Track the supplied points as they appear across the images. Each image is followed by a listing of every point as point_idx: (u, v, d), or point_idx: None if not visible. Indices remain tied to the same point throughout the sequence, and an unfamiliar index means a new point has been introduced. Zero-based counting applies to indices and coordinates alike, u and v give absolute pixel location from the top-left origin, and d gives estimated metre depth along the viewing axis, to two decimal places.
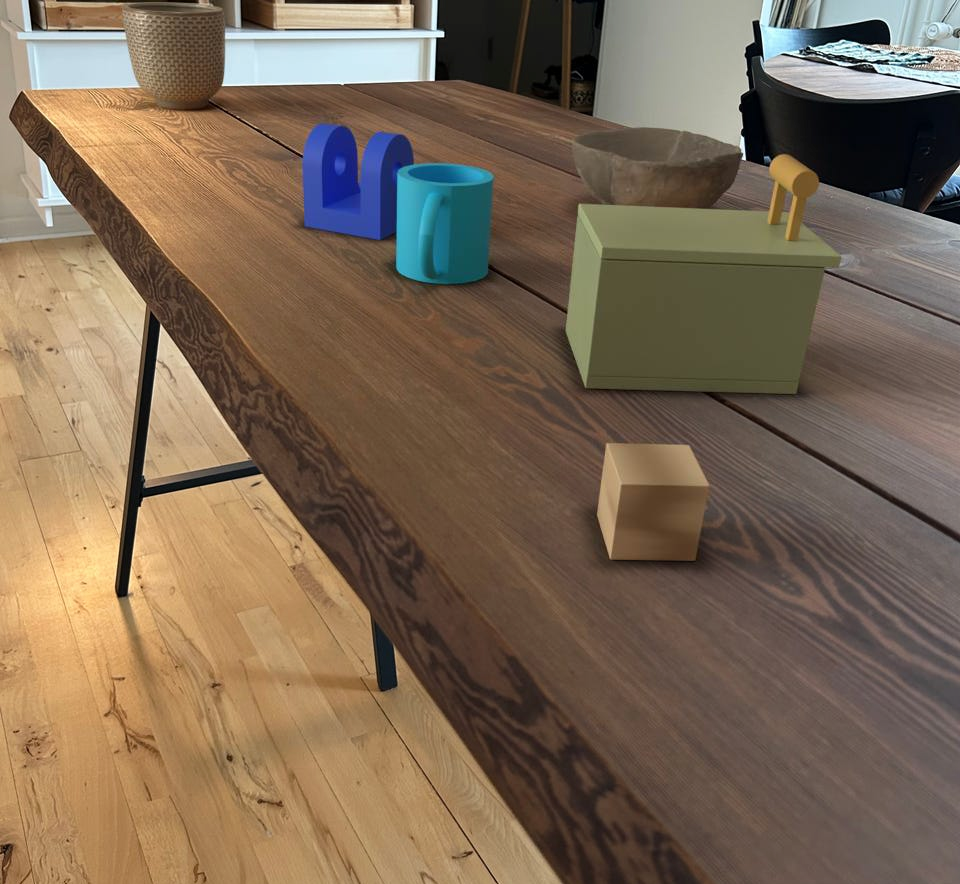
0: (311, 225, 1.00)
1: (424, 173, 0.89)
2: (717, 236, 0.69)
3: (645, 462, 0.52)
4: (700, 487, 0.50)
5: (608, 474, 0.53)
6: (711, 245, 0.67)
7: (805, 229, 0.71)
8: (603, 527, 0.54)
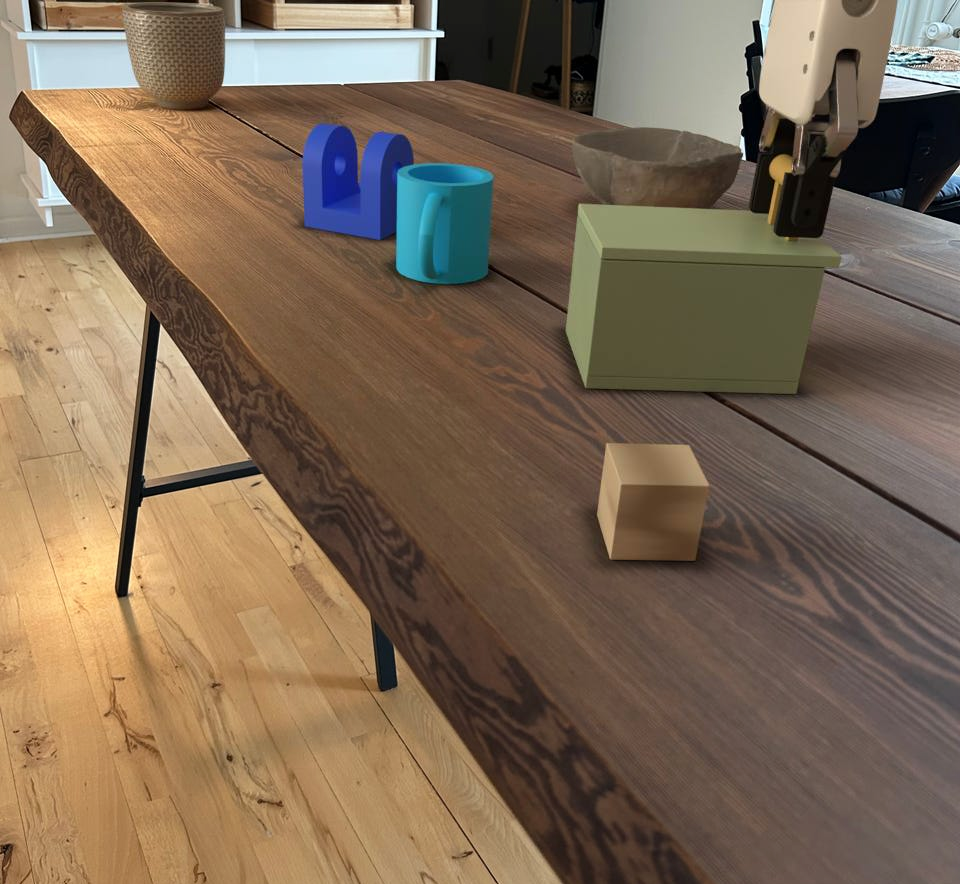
0: (311, 225, 1.00)
1: (424, 173, 0.89)
2: (717, 236, 0.69)
3: (645, 462, 0.52)
4: (700, 487, 0.50)
5: (608, 474, 0.53)
6: (711, 245, 0.67)
7: None
8: (603, 527, 0.54)
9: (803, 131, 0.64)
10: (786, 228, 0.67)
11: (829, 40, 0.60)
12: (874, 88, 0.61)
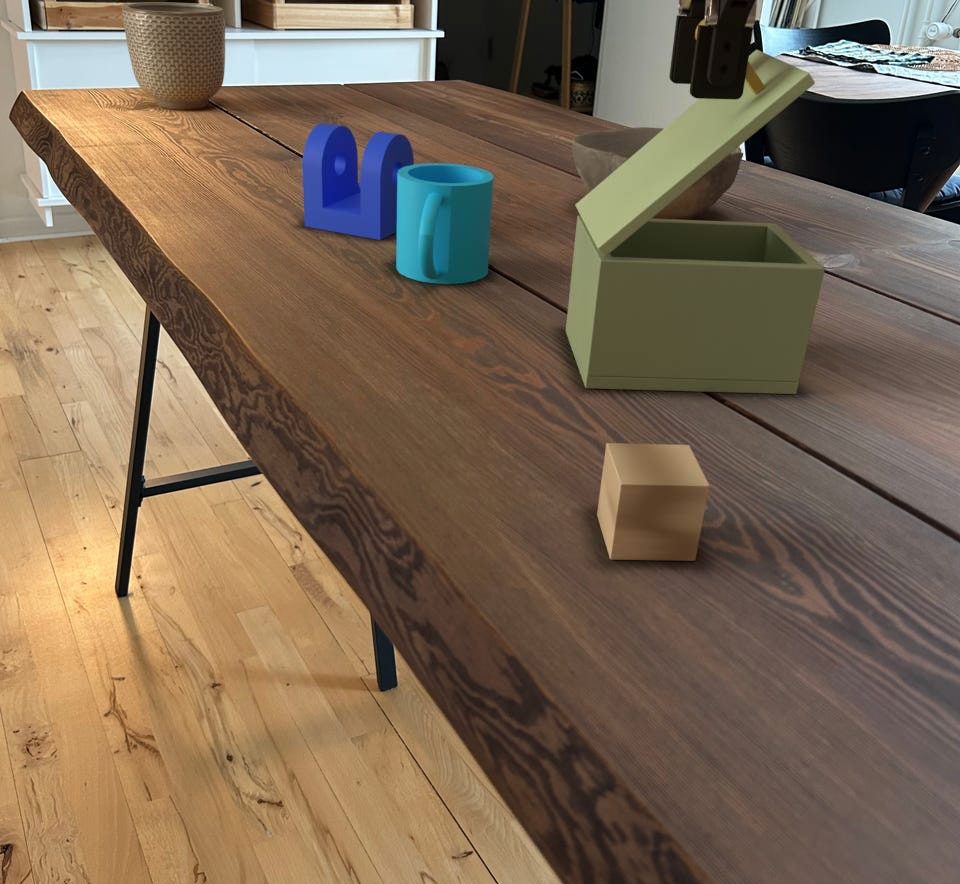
0: (311, 225, 1.00)
1: (424, 173, 0.89)
2: (692, 146, 0.65)
3: (645, 462, 0.52)
4: (700, 487, 0.50)
5: (608, 474, 0.53)
6: (688, 164, 0.64)
7: (772, 62, 0.66)
8: (603, 527, 0.54)
9: None
10: (703, 88, 0.63)
11: None
12: None
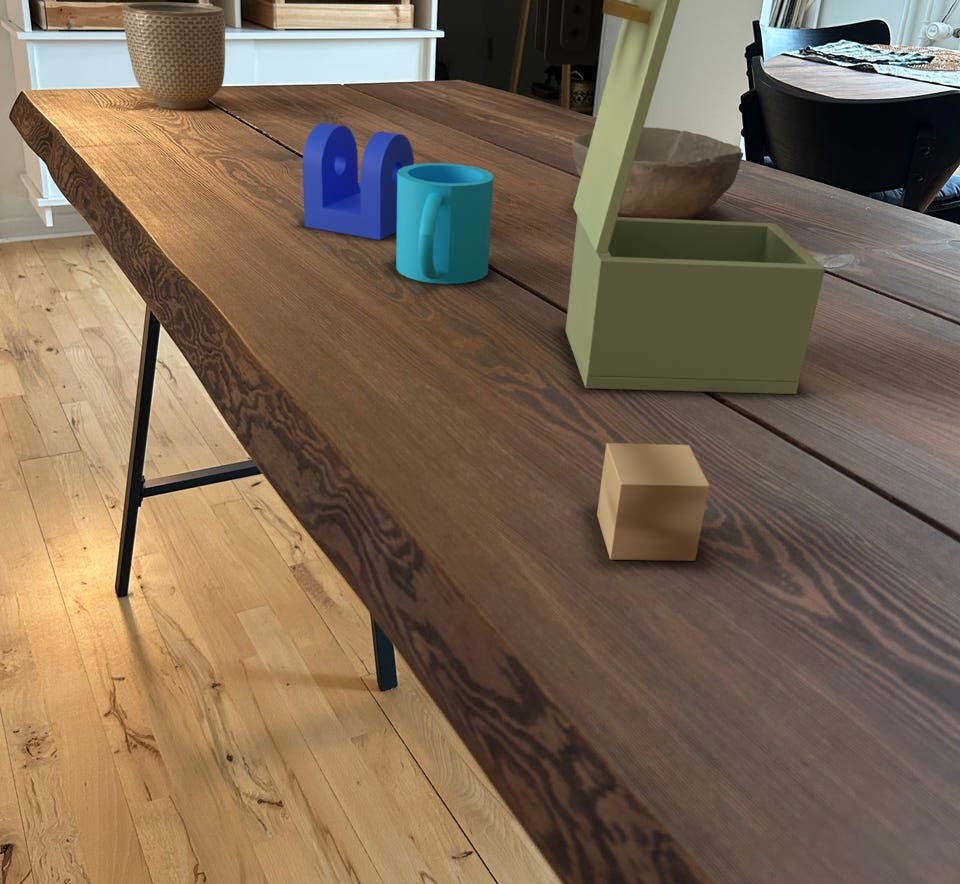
0: (311, 225, 1.00)
1: (424, 173, 0.89)
2: (623, 105, 0.64)
3: (645, 462, 0.52)
4: (700, 487, 0.50)
5: (608, 474, 0.53)
6: (625, 128, 0.63)
7: None
8: (603, 527, 0.54)
9: None
10: (556, 53, 0.61)
11: None
12: None
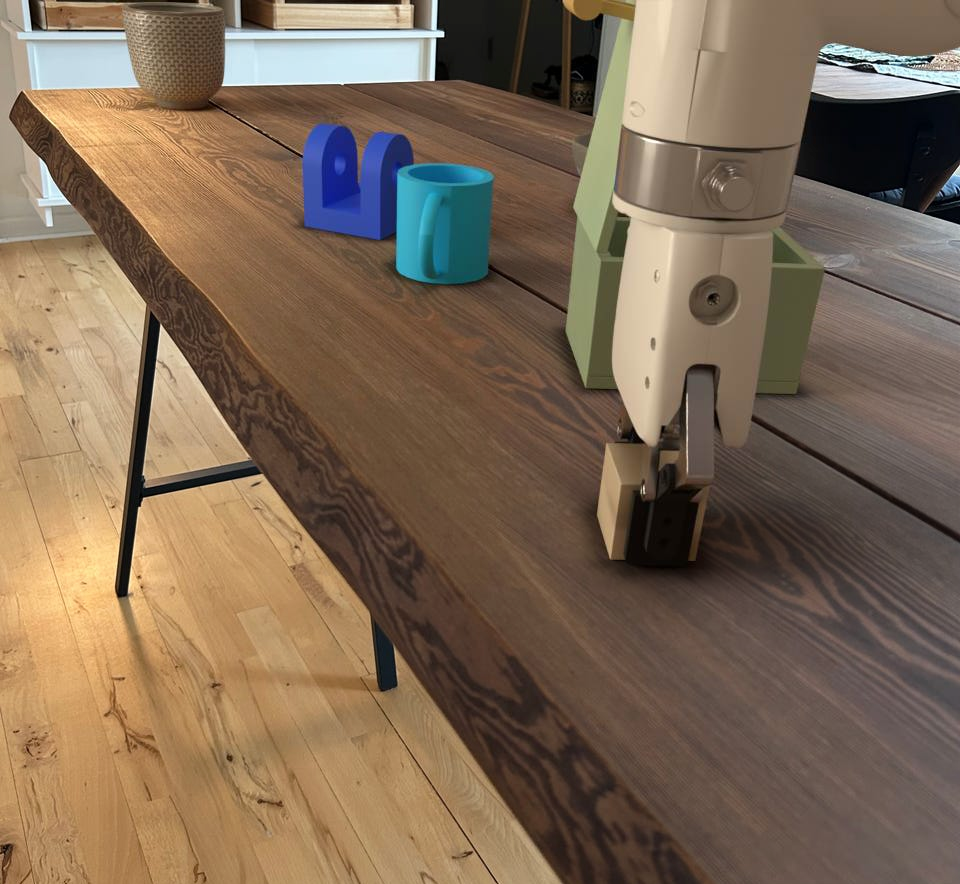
0: (311, 225, 1.00)
1: (424, 173, 0.89)
2: (622, 104, 0.64)
3: None
4: None
5: (608, 474, 0.53)
6: None
7: None
8: (603, 527, 0.54)
9: (651, 451, 0.47)
10: (639, 555, 0.51)
11: (675, 353, 0.43)
12: (742, 410, 0.45)
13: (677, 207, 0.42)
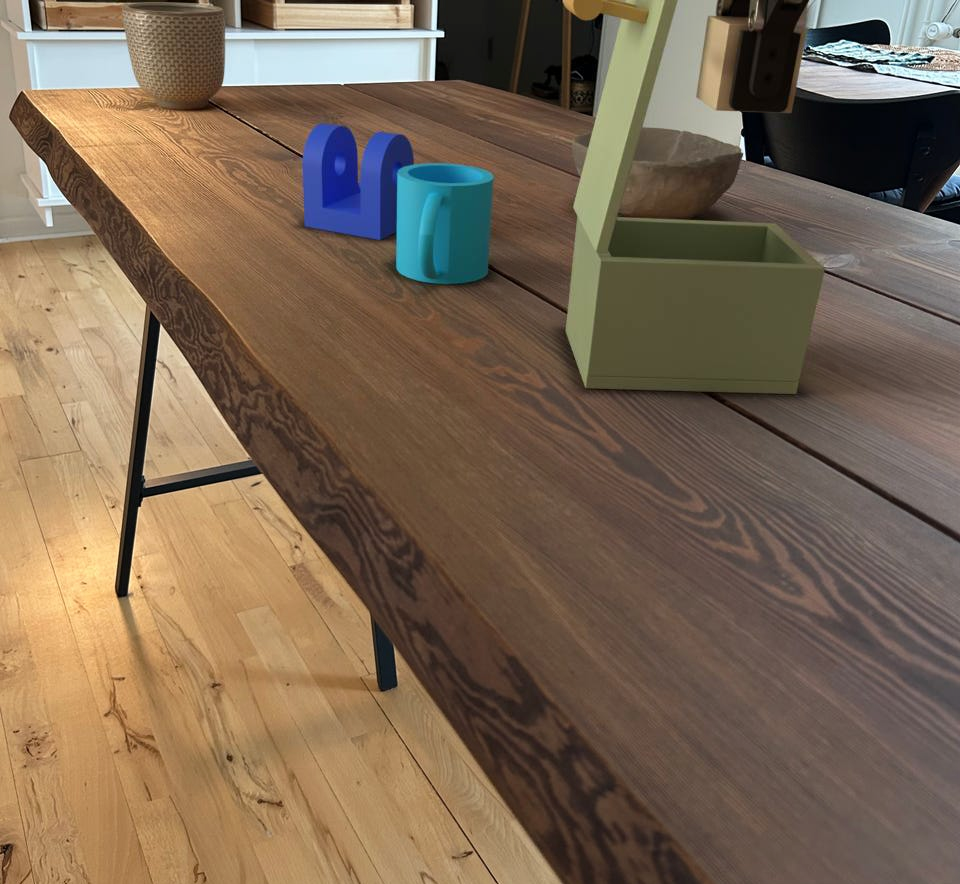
0: (311, 225, 1.00)
1: (424, 173, 0.89)
2: (622, 104, 0.64)
3: (746, 20, 0.57)
4: None
5: (711, 39, 0.58)
6: (624, 128, 0.63)
7: None
8: (705, 94, 0.59)
9: None
10: (744, 100, 0.57)
11: None
12: None
13: None
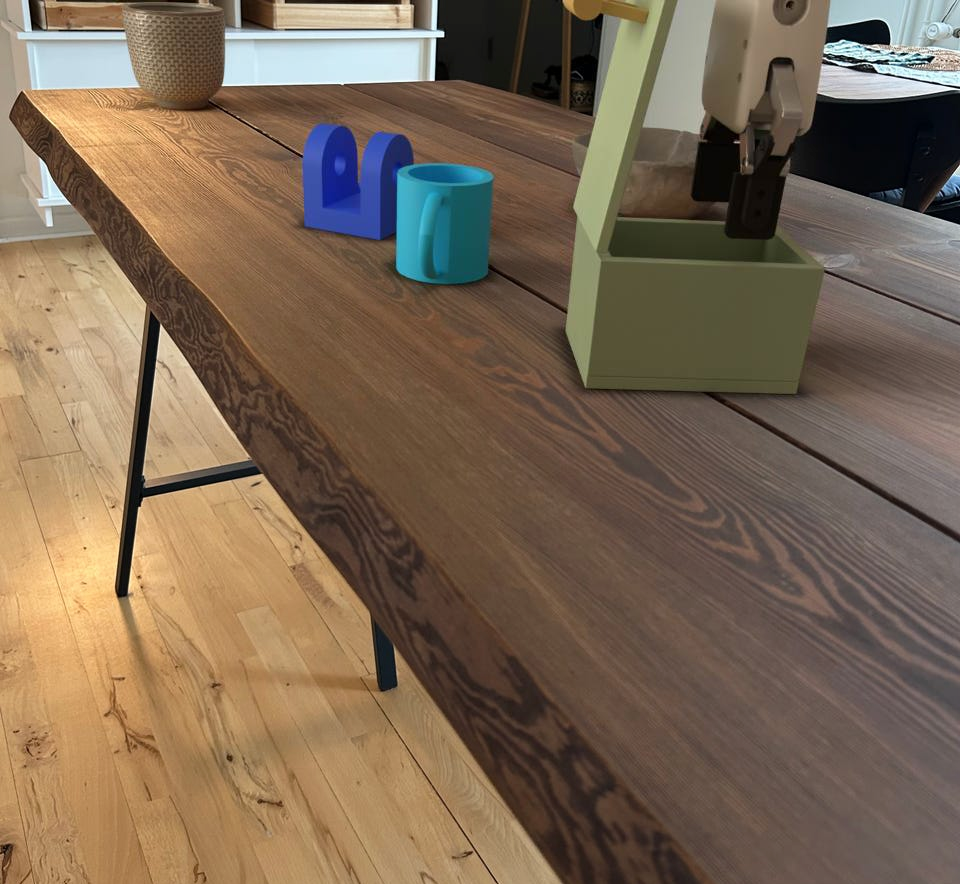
0: (311, 225, 1.00)
1: (424, 173, 0.89)
2: (622, 104, 0.64)
3: None
4: None
5: None
6: (624, 128, 0.63)
7: None
8: None
9: (747, 129, 0.63)
10: (737, 229, 0.65)
11: (762, 49, 0.60)
12: (808, 96, 0.61)
13: None
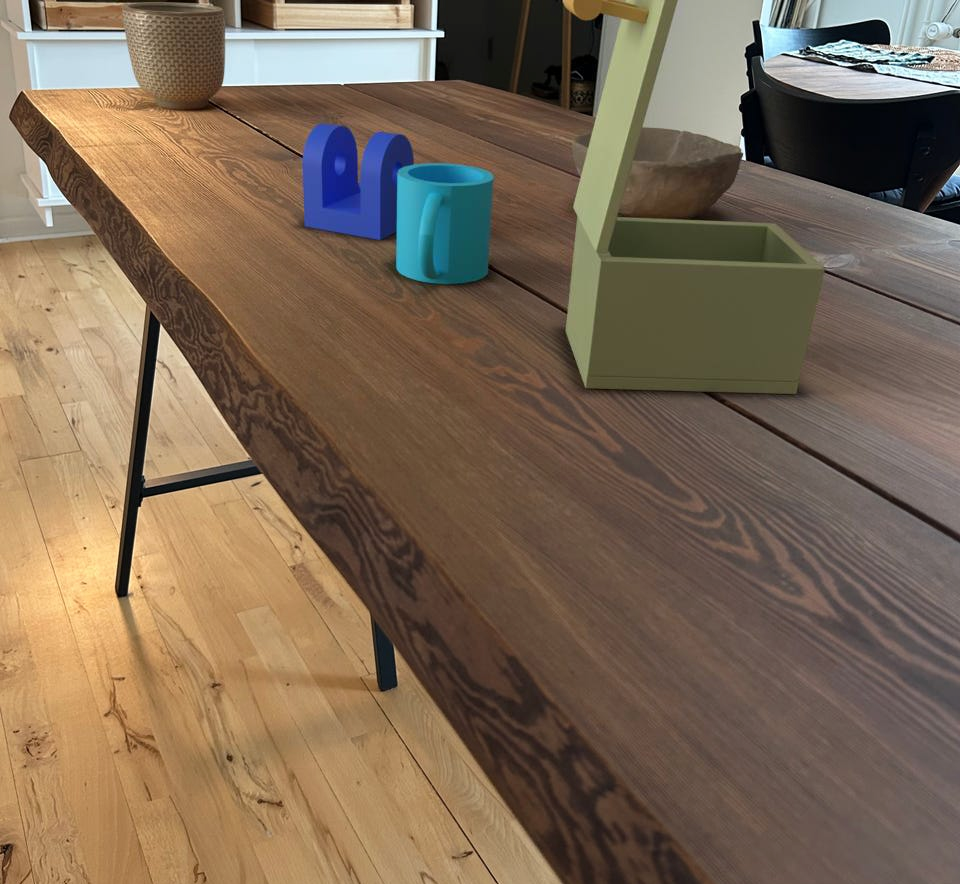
0: (311, 225, 1.00)
1: (424, 173, 0.89)
2: (622, 104, 0.64)
3: None
4: None
5: None
6: (624, 128, 0.63)
7: None
8: None
9: None
10: None
11: None
12: None
13: None
